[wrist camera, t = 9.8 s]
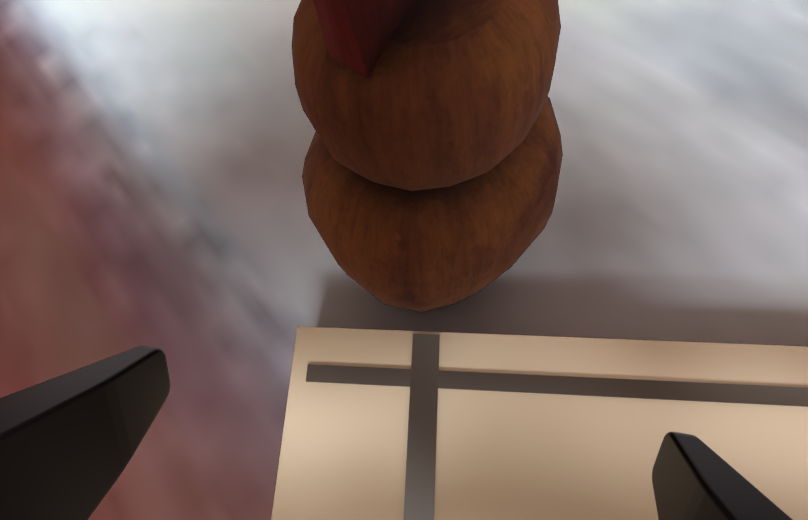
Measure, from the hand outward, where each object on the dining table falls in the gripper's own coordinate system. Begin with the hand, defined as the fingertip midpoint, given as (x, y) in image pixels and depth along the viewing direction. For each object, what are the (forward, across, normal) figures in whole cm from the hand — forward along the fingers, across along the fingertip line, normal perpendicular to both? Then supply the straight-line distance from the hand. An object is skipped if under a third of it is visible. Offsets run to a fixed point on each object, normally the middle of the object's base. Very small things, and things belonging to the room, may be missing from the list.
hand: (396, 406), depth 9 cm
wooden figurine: (+10, 0, +1) cm, 10 cm away
